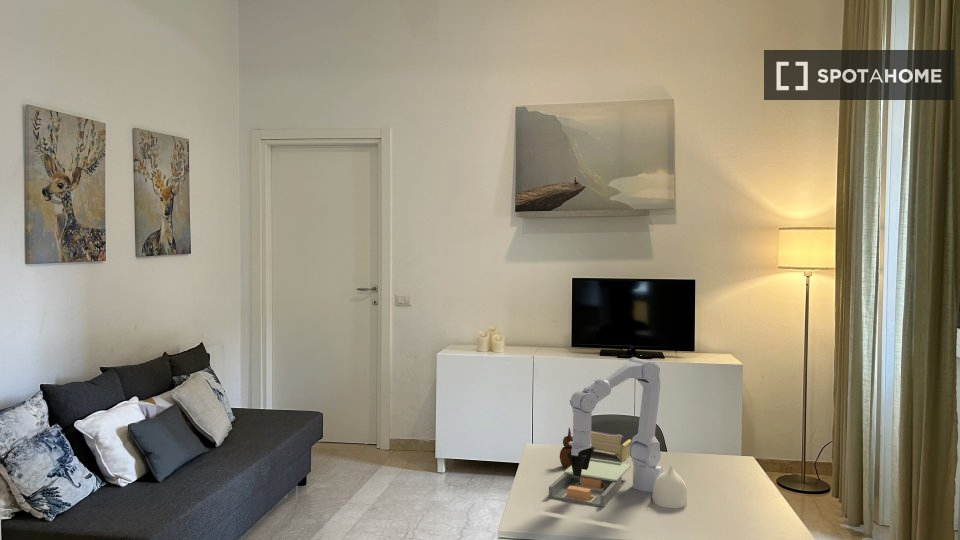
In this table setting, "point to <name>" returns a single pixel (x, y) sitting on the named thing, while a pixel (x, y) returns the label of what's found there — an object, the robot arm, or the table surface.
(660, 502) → the teardrop
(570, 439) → the wooden figurine
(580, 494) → the block
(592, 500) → the housing
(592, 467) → the lid
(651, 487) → the robot arm
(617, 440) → the toy sofa
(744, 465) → the table surface
